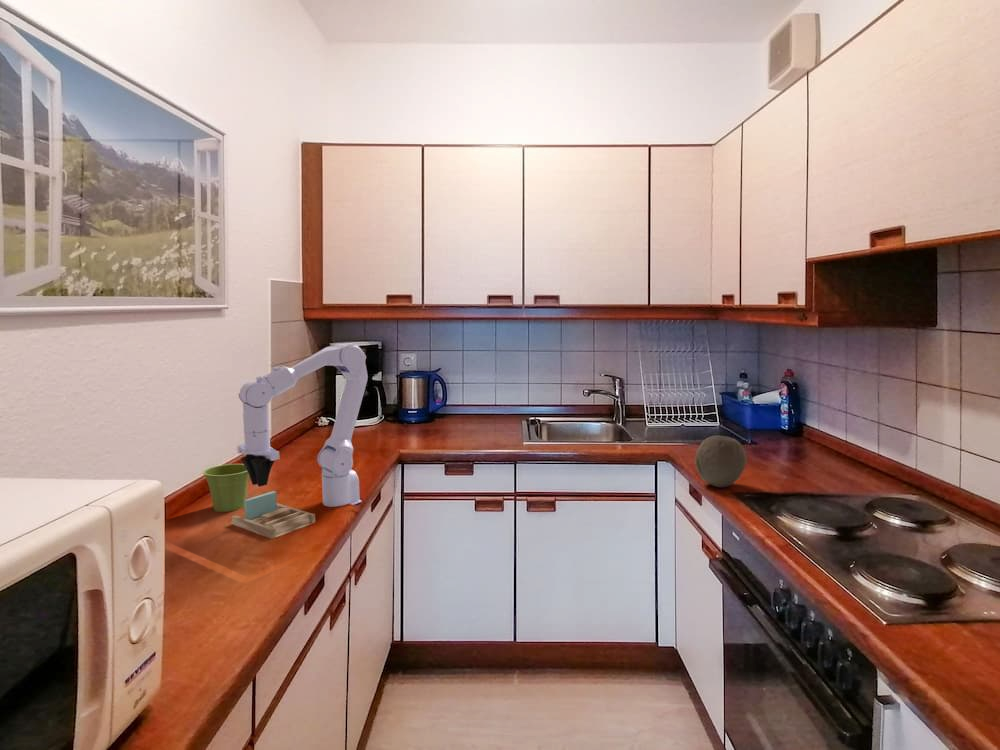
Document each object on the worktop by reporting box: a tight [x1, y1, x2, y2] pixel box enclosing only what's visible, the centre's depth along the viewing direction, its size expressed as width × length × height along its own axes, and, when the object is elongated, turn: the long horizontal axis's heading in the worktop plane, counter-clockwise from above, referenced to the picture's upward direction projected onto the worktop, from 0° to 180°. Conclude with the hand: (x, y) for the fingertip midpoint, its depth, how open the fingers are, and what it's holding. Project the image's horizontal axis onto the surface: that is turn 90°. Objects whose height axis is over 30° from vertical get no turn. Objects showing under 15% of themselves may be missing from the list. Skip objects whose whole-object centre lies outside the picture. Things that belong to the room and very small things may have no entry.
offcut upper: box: [262, 508, 291, 522], centre depth 139 cm, size 6×2×1 cm, turn 150°
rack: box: [231, 502, 316, 539], centre depth 140 cm, size 12×16×3 cm
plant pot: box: [202, 463, 250, 513], centre depth 151 cm, size 12×12×11 cm
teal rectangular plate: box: [243, 490, 278, 520], centre depth 142 cm, size 8×1×6 cm, turn 146°
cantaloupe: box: [694, 435, 747, 488], centre depth 170 cm, size 14×14×15 cm
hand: (259, 484), depth 141 cm, fingers closed
